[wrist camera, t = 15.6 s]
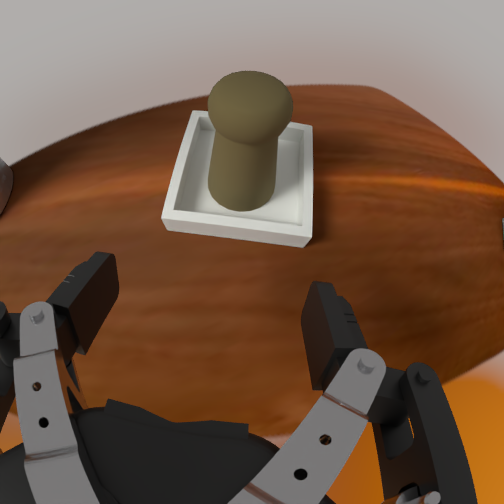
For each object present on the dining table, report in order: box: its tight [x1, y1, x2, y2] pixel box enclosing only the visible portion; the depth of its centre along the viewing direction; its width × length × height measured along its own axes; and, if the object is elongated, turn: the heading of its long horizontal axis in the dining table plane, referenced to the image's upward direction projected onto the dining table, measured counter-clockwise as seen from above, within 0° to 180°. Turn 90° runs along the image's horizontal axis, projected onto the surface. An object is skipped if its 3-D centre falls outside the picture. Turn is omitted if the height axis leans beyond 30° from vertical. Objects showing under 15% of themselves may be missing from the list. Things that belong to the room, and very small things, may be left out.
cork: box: [208, 71, 293, 212], centre depth 19 cm, size 6×6×11 cm
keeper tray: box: [161, 110, 313, 248], centre depth 24 cm, size 12×12×3 cm
